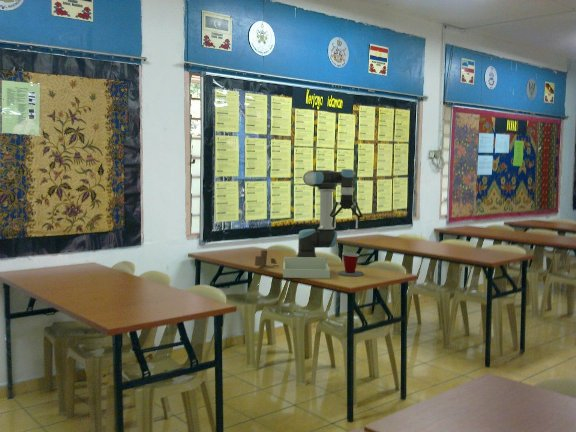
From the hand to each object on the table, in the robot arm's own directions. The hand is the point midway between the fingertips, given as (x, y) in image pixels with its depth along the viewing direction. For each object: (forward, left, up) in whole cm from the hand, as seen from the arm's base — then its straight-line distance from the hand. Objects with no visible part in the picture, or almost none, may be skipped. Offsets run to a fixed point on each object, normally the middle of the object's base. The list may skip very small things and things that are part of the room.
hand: (345, 228), depth 376 cm
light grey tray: (+3, -25, -28) cm, 38 cm away
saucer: (+3, +3, -29) cm, 29 cm away
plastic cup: (+3, +3, -28) cm, 28 cm away
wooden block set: (-21, -52, -29) cm, 63 cm away
